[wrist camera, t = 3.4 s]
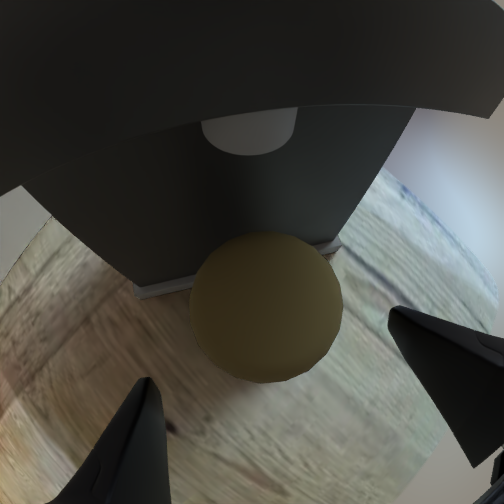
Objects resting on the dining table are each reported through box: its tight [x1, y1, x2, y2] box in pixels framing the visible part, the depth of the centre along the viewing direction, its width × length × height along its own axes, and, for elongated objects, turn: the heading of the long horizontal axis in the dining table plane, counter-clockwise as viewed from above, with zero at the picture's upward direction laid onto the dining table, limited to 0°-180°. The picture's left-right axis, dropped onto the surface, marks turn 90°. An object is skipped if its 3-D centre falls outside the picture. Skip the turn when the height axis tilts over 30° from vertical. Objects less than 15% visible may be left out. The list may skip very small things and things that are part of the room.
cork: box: [189, 231, 343, 383], centre depth 13 cm, size 6×6×11 cm
